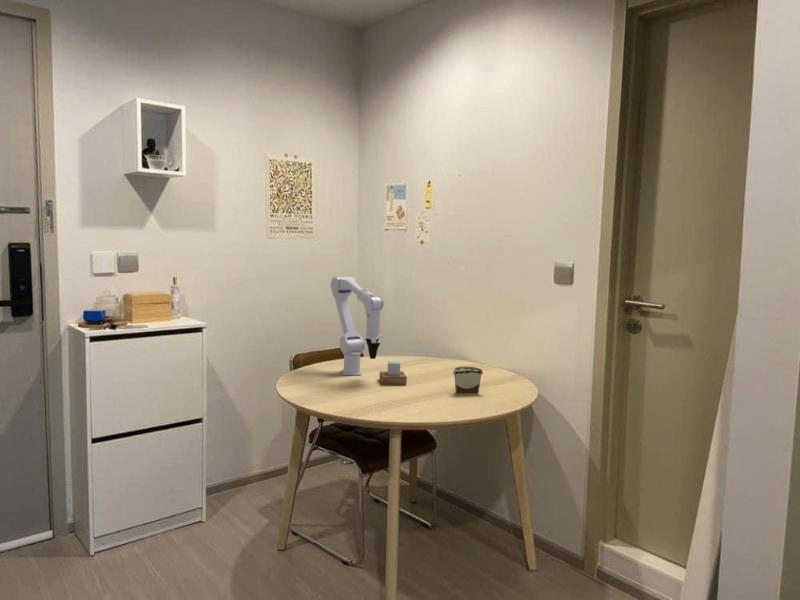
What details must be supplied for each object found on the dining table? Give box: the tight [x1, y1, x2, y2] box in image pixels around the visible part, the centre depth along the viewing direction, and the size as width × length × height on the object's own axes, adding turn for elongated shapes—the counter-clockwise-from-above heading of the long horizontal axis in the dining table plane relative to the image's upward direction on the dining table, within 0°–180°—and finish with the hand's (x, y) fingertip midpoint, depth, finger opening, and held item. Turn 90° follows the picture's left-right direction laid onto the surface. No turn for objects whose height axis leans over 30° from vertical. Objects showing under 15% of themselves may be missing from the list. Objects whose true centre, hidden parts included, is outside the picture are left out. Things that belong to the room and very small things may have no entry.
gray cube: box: [387, 360, 401, 375], centre depth 253 cm, size 5×5×5 cm
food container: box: [452, 366, 484, 395], centre depth 241 cm, size 12×6×10 cm, turn 104°
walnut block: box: [379, 370, 408, 386], centre depth 253 cm, size 10×10×4 cm
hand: (372, 356), depth 254 cm, fingers open, 7 cm apart
